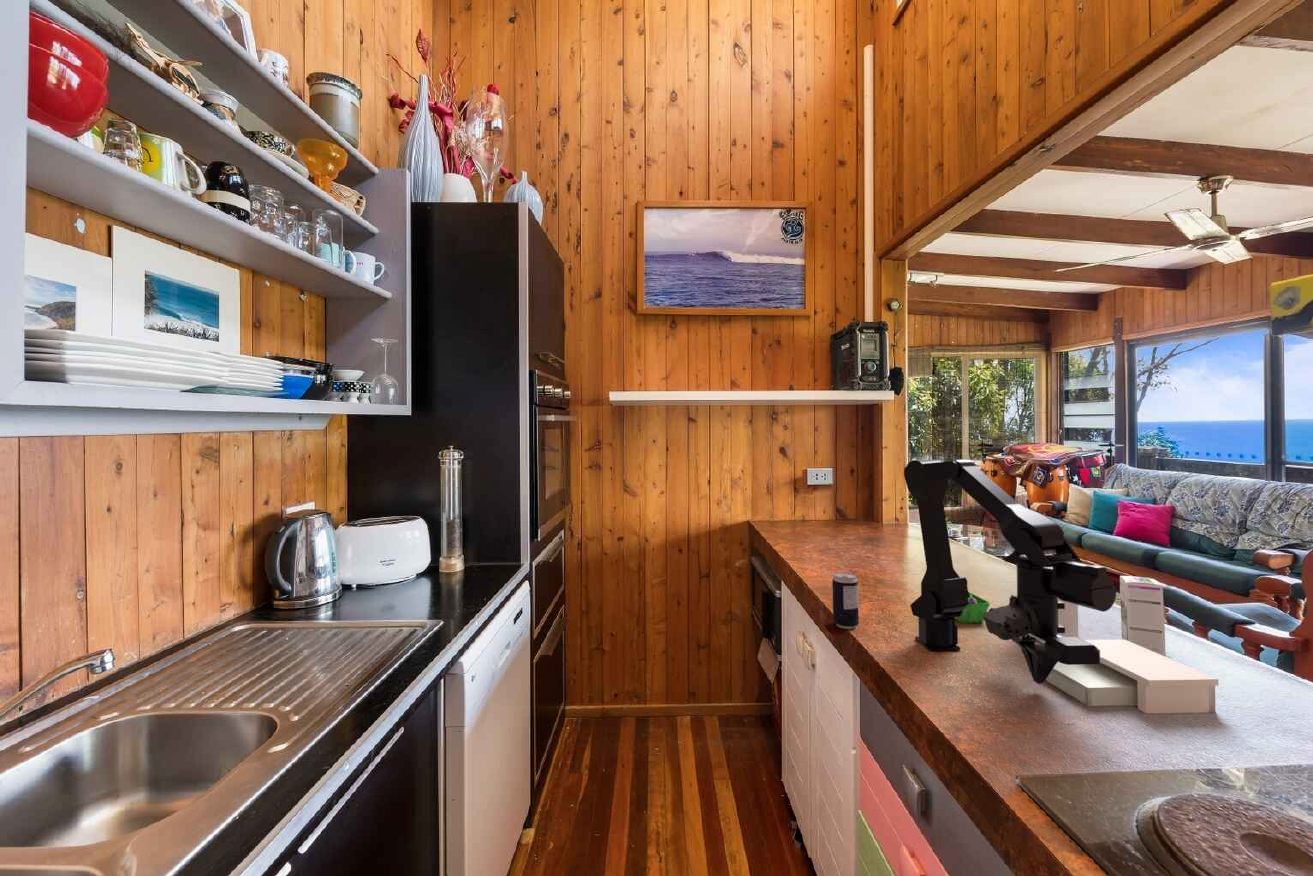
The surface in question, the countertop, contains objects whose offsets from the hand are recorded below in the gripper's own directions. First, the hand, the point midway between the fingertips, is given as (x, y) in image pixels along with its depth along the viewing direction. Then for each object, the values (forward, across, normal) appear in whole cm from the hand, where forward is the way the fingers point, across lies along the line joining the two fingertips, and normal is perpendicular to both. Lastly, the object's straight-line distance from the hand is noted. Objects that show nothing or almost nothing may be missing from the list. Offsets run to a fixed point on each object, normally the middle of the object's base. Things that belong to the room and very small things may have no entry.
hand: (1038, 682), depth 88 cm
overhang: (+1, 0, +16) cm, 16 cm away
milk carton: (+2, -20, +18) cm, 27 cm away
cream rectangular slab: (+1, 0, +12) cm, 12 cm away
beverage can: (+2, -32, -21) cm, 39 cm away
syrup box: (+2, -15, +34) cm, 37 cm away
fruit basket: (+2, -37, +9) cm, 38 cm away
